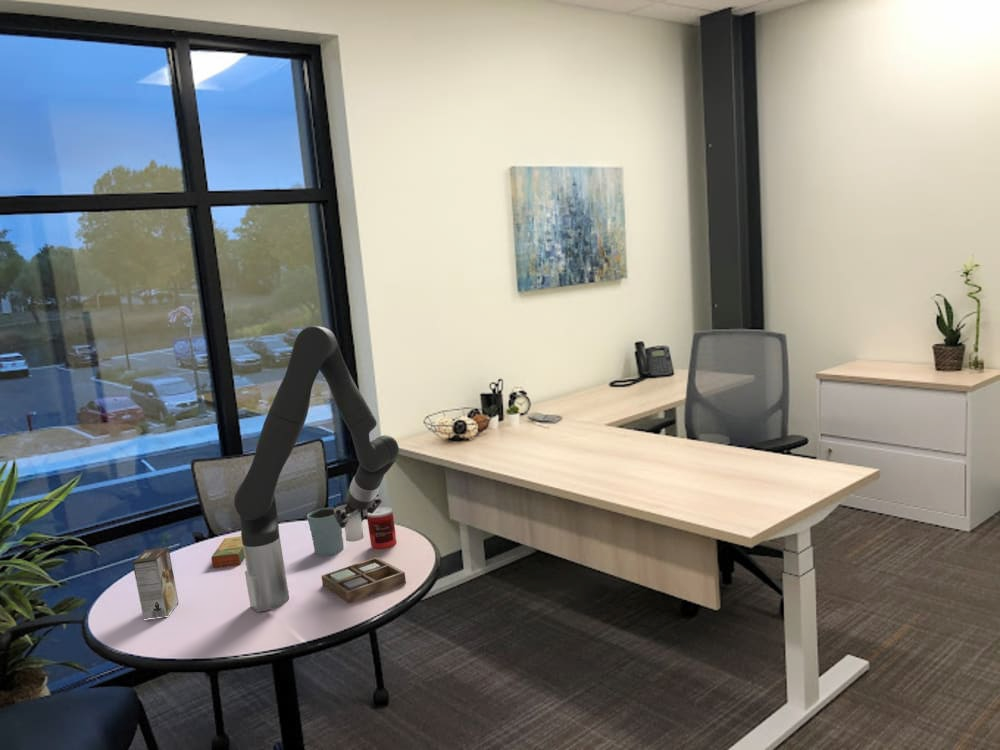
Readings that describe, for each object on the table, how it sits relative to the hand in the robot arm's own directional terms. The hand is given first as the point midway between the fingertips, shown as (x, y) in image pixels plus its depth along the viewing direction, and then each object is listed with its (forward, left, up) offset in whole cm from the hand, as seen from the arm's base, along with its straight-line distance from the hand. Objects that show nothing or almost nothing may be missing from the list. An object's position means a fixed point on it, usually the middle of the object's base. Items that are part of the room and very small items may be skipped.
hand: (350, 522), depth 226 cm
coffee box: (-50, +14, -13) cm, 53 cm away
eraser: (-9, -19, -12) cm, 24 cm away
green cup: (0, +20, -13) cm, 24 cm away
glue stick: (0, -2, -4) cm, 5 cm away
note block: (-9, -11, -12) cm, 19 cm away
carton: (-23, +40, -14) cm, 48 cm away
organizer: (-5, -15, -13) cm, 20 cm away
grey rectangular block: (-1, -11, -12) cm, 17 cm away
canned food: (+13, +9, -13) cm, 21 cm away
